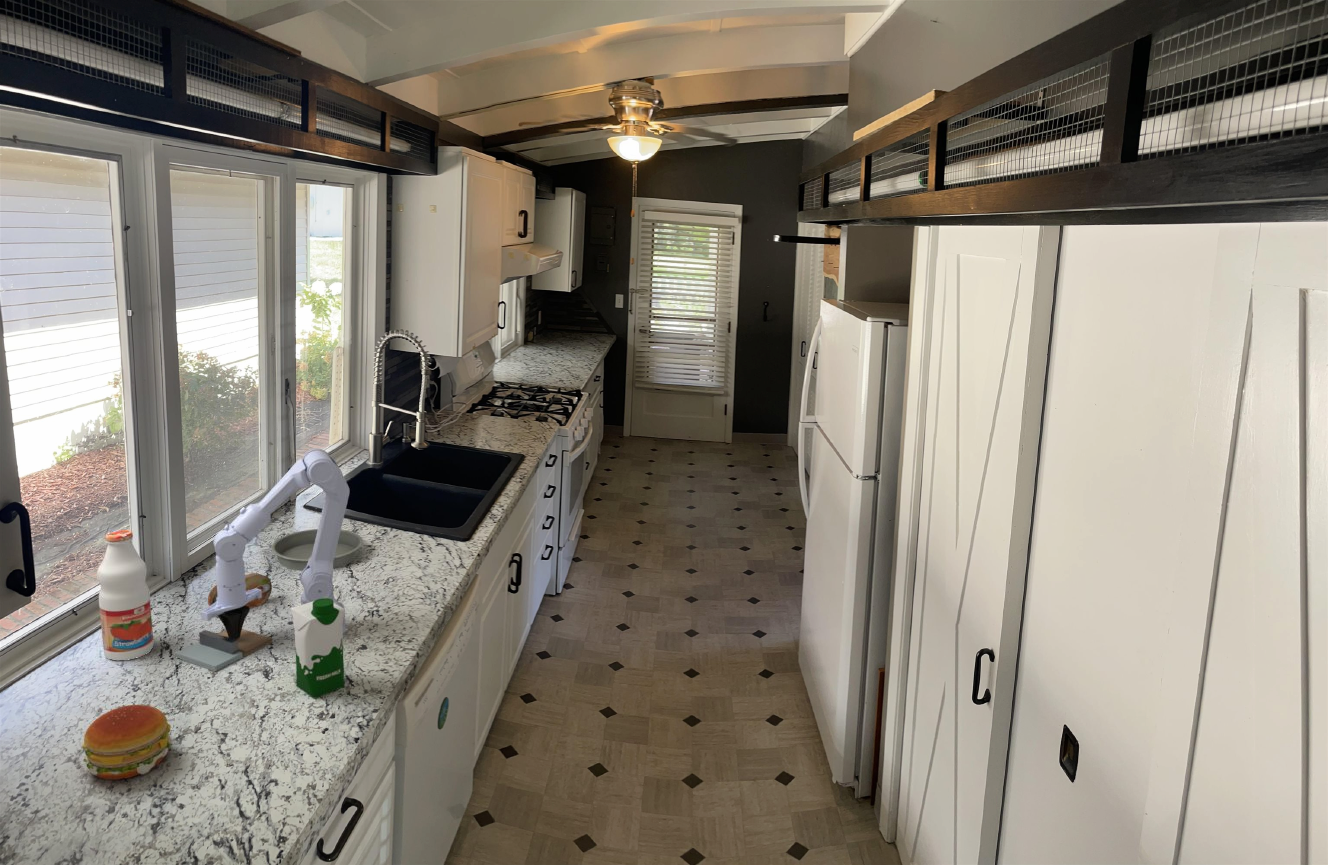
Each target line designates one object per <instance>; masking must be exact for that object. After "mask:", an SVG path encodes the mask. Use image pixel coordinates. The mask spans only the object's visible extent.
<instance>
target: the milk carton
mask: <svg viewBox="0 0 1328 865" xmlns="http://www.w3.org/2000/svg"><path fill="white" fill-rule="evenodd" d="M291 615H292V620H293V628H294V632H295V635H294V641H295V642H294V648H295V667H296V668H295V670H296V673H295V674H296V675H295V676H296V677H295V678H296V679H295V680H296V683H295V684H296V687H298V689H300V690H301V691H303V692H304V693H305V694H307V695H308V696H310V697H311V698H312V699H316V698H319V697H321V696H325V695H326V694H330V693H331V692H335V691H336V690H339V689H341V688H344V687H345V670H344V669H345V668H344V667H345V666H344V639H343V638H344V633H343V617H344V609H343V608H342V607H340V606H339V605H337V604H335V603H334V602H333V600H332V599H329V598H322V599H318V600H315V601H313V602H309V603H306V604H303V605H301V604H300V605H296V606H293V607H291Z"/></svg>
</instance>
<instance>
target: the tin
mask: <svg viewBox="0 0 1328 865" xmlns="http://www.w3.org/2000/svg"><path fill="white" fill-rule="evenodd" d="M245 583H246V591H249V590H252V589H255V588H256V589H260V590H262V598H260V599H257V598H256V599H254V600H252V601H249V602H248V603H247V604H246V605H245V606H248V607H250V609H253V608H256V607H260V606H262V605H264V604H265V603H266V602H267V601H268V599H269V598H270V596H271V594H272V590H273V585H272V582H271V580H270V578H269V577H268V576H266V575H264V574H260V573H255V572H254V573H249V574H245ZM217 597H218V593H217V584H216V585H214V586H213V587H212V589H211V590H210V592H209V594H208V595H207V604H208V607H210V606H211V605H212V604H214V603H215V602H216V601H217V600H216V598H217Z"/></svg>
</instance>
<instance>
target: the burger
mask: <svg viewBox="0 0 1328 865" xmlns="http://www.w3.org/2000/svg"><path fill="white" fill-rule="evenodd" d="M171 727H172V726H171V724H170V723H169V722H168V719H167V717H166V714H165V713H163V712H162V711H161V710H160V709H158V708H157V707H155V706H151V705H145V704H129V705H123V706H119V707H116V708H112V709H111V710H109V711H107V712H104V714H101V715H100V716H98V717H97V718H96V719H94V721H93V722H92V723H91V724H90V725H89V726H88V728H87V729H86V731H85V733H84V739H83V744H82V746H81V748H82V749H83V750H84V753H85V756H84V758H83V762H84V763H85V764H86V767H87V770H88V772H90V773H91V774H92V775H94V776H96V777H98V778H100V779H105V780H121V779H126V778H127V779H128V778H131V777H134V776H139V775H146V774H147V773H148V772H150V770H152V768H154V767H156V766H157V765H158V764H159V763H160V762H162V761H163V760H164V758H165V756H166V755H167V754H168V751H169V749H170V750H172V747H173V738H172V737H171V734H170V733H171Z"/></svg>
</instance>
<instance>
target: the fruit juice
mask: <svg viewBox="0 0 1328 865" xmlns="http://www.w3.org/2000/svg"><path fill="white" fill-rule="evenodd" d="M133 538H134V537H133V532H132V530H129V529H116V530H112V531H111V530H110V531H109V532H107V533H106V534H105V543H107V546H106V550H105V552H104V553H105V554H104V557H103V559H102V561H101V563H100V564H99V566H98V568H97V571H96V578H97V580H98V584H99V585H100V590H99V592H98V606H99V607H98V608H99V616H100V618H99V619H100V627H101V636H102V637H101V638H102V646H103V648H102V650H103V654H104V656H106V657H107V658H109V659H113V660H128V659H133V658H136V657H140V656H142V655H145V654H146V653H148V652H149V651H151V649H152V648H154V632H153V621H152V620H153V619H152V608H151V607H152V606H151V595H150V589H149V586H148V584H147V582H146V577H147V574H148V573H147V572H148V569H147V564H146V562H145V561H144V560H143V558H142V557H141V556H140V555H139V553H138V551H137V550H136V548H135V546H134V544H133V542H132V540H133ZM152 650H153V649H152ZM148 654H149V653H148ZM145 656H146V655H145ZM106 657H105V658H106ZM107 658H106V659H107ZM140 658H141V657H140ZM109 659H108V660H109Z"/></svg>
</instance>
